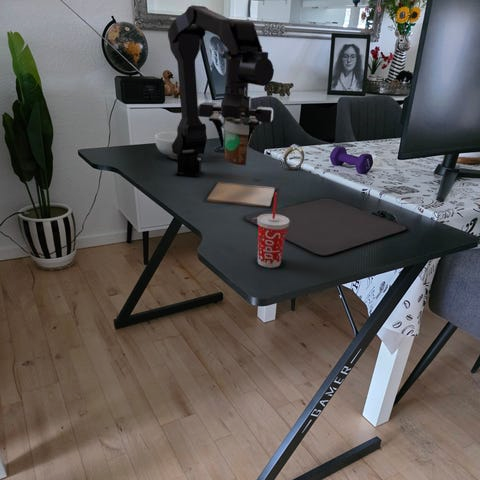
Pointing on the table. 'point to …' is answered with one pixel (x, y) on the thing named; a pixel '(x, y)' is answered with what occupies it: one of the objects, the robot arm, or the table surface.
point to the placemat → (242, 194)
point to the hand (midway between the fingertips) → (234, 147)
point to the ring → (290, 152)
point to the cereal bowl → (166, 143)
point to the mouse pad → (331, 226)
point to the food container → (235, 140)
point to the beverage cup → (271, 237)
